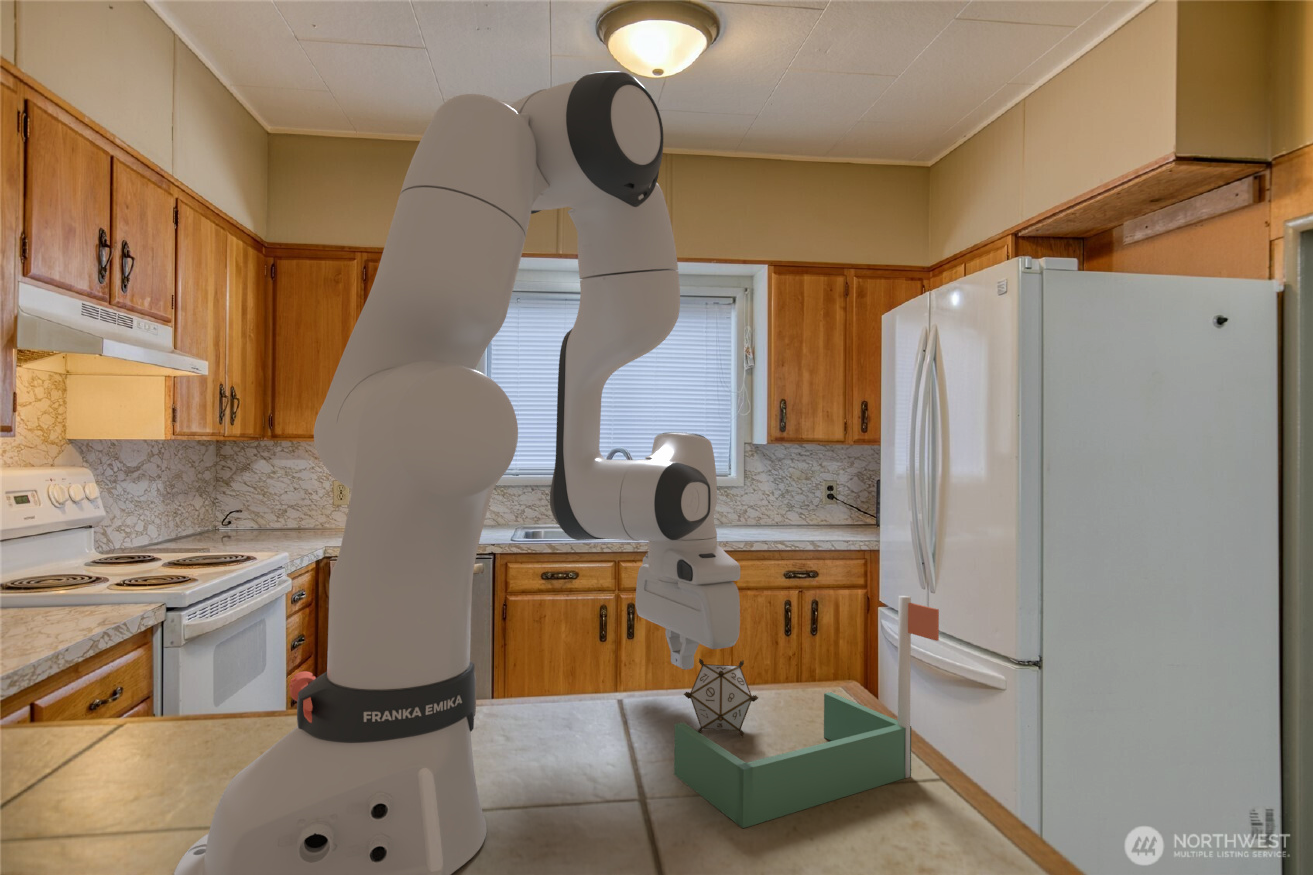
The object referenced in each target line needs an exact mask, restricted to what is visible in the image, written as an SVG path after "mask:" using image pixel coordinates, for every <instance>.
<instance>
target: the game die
mask: <svg viewBox="0 0 1313 875" xmlns="http://www.w3.org/2000/svg"><path fill="white" fill-rule="evenodd" d="M744 662H745V660H740V661H739V663H738V665H730V664H729V665H728V664H727V665H724V664H705V663H704V659H702V658H700V657H699V659H698V663H699V665H701V667H700V670H699V671H698V673H697V674H698V675H697V676H696V679H695V681H694V683H693V686H692V687H691V690H690V692H689V691H685V693H683V695H684V696H685V697H686V698H687V699H690V700H691V703H692V706H693V709H694V712H695V715H696V717H697V721H698V725H699V726H700V727H699V728H698V729H697V730H696V731H697V732H699V733H700V734H702V732H703V730H713V731H714V730H717V731H718V730H719V731H733V732H734V731H737V732H738V735H739V736H740V737H742V738H745V737H744V736H745V735H744V734H745V732H744V731H743V730H742V727H743V723H744V722H745V719H746V716H747V713H748V711H749V709H750V705H751V703H752V702H753V703H754V702H756V701H757V700H758V699H759V697H758V696H757V695H755V694H753V695H752V693H751V690H750V687H749V685H748V682H747V680H746V678H745V674H744V672H743V670H742V667H743V666H744V665H745V663H744Z"/></svg>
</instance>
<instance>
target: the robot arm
mask: <svg viewBox="0 0 1313 875" xmlns="http://www.w3.org/2000/svg"><path fill="white" fill-rule="evenodd" d="M662 121H663V120H662V118H661V114H660V111H659V108H658V106H657V104H656V102H655V100H654V98H653V97H652V95H651V93H650V92H649V91H648V90H647V89H646V87H645V86H644V85H643V84H642V83H641V82H640V81H639V80H638V79H637V78H636V77H634V75H631V74H629V73H628V72H623V71H615V70H614V71H613V70H611V71H599V72H598V71H597V72H593V73H588V74H584V76H582V77H581V78H579V79H577V80H573V81H569V82H564V83H561V84H558V85H554V86H552V87H549V88H543V89H539V90H537V91H535V92H533V93H530V94H528V95H526V96H524V97H522V98H520V99H518V100H517V101H515V102H513V103H511V104H510V105H508V104H507V103H505V102H504V101H502V100H500V99H497V98H494V97H492V96H489V95H484V94H476V93H466V94H465V93H464V94H459V95H456V96H453V97H451V98H449V99H447V100H446V101H444V103H442V104H441V105H440V106H439V107H438V109H437V110H436V111H435V113H434V115H433V116H432V118H431V120H430V122H429V124H428V125H427V127H426V129H425V130H424V133H423V135H422V137H421V139H420V141H419V143H418V145H417V147H416V149H415V151H414V155H413V156H412V158H411V161H410V164H409V167H408V169H407V171H406V175H405V177H404V179H403V180H404V181H403V183H402V186H401V189H400V193H399V196H398V199H397V203H396V206H395V210H394V214H393V217H392V219H391V223H390V227H389V230H388V234H387V237H386V240H385V244H384V248H383V250H382V251H383V252H382V254H381V258H380V261H379V265H378V268H377V272H376V275H375V278H374V281H373V284H372V286H371V289H370V291H369V294H368V296H367V299H366V301H365V303H364V305H363V308H362V310H361V312H360V314H359V316H358V319H357V320H356V323H355V325H354V327H353V330H352V332H351V334H350V336H349V339H348V341H347V343H346V346H345V348H344V350H343V353H342V355H341V357H340V360H339V363H338V365H337V368H336V371H335V373H334V375H333V378H332V380H331V383H330V386H329V388H328V390H327V393H326V397H325V398H324V401H323V403H322V405H321V408H320V410H319V411H318V413H317V416H316V420H315V423H314V428H313V441H314V442H313V443H314V447H315V450H316V453H317V455H318V457H319V459H320V461H321V463H322V465H323V466H324V467H325V468H326V470H327V471H328V472H329V473H330V475H331V476H332V477H333V478H334V479H335V480H336V481H338V482H339V483H340V484H341V485H343V486H344V487H347V488H348V489H350V496H349V504H348V510H347V515H346V519H345V520H346V521H345V525H344V531H343V536H342V539H341V543H340V544H341V545H340V548H339V551H338V555H337V558H336V562H335V563H334V566H333V568H332V570H331V572H330V576H329V588H328V589H329V590H328V591H329V592H328V622H327V623H328V625H327V626H328V628H327V634H328V635H327V661H326V662H327V664H326V665H327V666H326V667H327V668H326V669H327V670H326V671H325V672H323V673H322V674H321V675H318V676H317V677H316V676H315V675H313V672H310V671H306V670H305V671H300V672H298V673H295V674H294V675H293V678H291V679H290V681H289V682H290V683H289V684H288V686H289V694H290V697H291V698H292V699H293V700H294V701H296V702H297V703H296V722H297V726H296V727H294V728H293V729H292V730H291V731H289V732H288V733H287V734H285V735H284V736H282V738H281V739H279V740H278V741H276V743H275V744H273V745H272V746H271V747H270V748H268V749H267V750H265V751H264V752H263V753H262V754H261V755H259V756H258V757H257V758H256V759H254V760H253V761H252V762H250V763H249V764H248V765H247V766H245V767H244V768H243V769H242V770H240V771H239V772H238V773H237V774H236V775H235V776H234V777H233V778H232V779H231V780H230V782H229V783H228V784H227V786H226V788H225V789H224V791H223V794H222V795H221V797H220V798H219V802H218V804H217V805H216V808H215V811H214V813H213V817H212V820H211V823H210V827H209V831H208V833H206V834H205V835H203V836H202V837H201V838H200V839H198V840H197V841H196V842H195V843H193V844H192V845H191V846H190V847H189V848H188V850H186V851H185V853H184V854H183V855H182V857H181V858H180V860H179V861H178V864H177V865H176V867H175V869H174V872H173V873H172V875H452V874H453V873H454V872H457V870H459V869H460V868H461V867H462V866H464V865H465V864H467V862H469V860H471V859H472V858H473V857H474V856H475V855H476V854H477V853H478V851H479V850H480V849H481V847H482V846H483V844H484V841H486V840H485V839H486V837H487V830H488V829H487V823H486V819H485V817H484V813H483V810H482V805H481V801H480V796H479V791H478V786H477V778H476V772H475V766H474V756H473V747H472V746H473V745H472V733H471V732H473V730H474V725H475V724H474V723H475V717H476V711H477V677H476V670H475V665H476V664H475V663H473V661H471V636H472V635H471V633H472V632H471V631H472V630H471V629H472V603H473V600H472V599H473V580H474V571H475V564H476V559H477V553H478V548H479V544H480V540H481V537H482V536H481V535H482V532H483V528H484V525H485V524H484V523H485V520H486V517H487V513H488V508H489V507H490V506H489V505H490V503H491V498H492V494H493V492H494V490H495V487H496V486H497V484H498V482H499V481H500V480H501V478H502V477H503V476H504V474H505V473H506V472H507V471H508V469H509V467H510V465H511V464H512V462H513V460H514V457H515V454H516V450H517V446H518V440H519V438H518V437H519V428H518V427H519V426H518V418H517V415H516V411H515V409H514V405H513V404H512V402H511V399H510V398H509V397H508V395H507V394H506V393H505V391H504V390H503V389H502V387H501V386H500V385H499V384H498V383H497V382H496V381H494V380H493V379H492V378H490V377H489V376H488V375H486V374H485V373H482V372H481V371H478V370H476V368H477V366H478V364H479V362H480V360H481V358H482V356H483V354H484V353H485V351H486V349H487V348H488V347H489V345H490V343H491V342H492V341H493V339H494V338H495V336H497V334H498V333H499V332H500V330H501V328H502V326H503V325H504V323H505V321H506V319H507V315H508V310H509V307H510V303H511V299H512V294H513V290H514V287H515V283H516V279H517V276H518V275H517V274H518V270H519V267H520V262H521V259H522V255H523V252H524V246H525V243H526V239H527V234H528V230H529V229H528V228H529V226H530V221H531V215H532V214H536V213H540V212H542V211H548V210H558V209H564V208H571V209H569V210H567V214H568V215H569V217H570V219H571V221H572V222H573V224H574V227H575V229H576V232H577V262H578V263H577V264H578V275H579V279H580V280H579V285H580V286H579V287H580V297H579V305H578V311H577V316H576V319H575V321H574V324H573V327H572V328H571V329H569V331H567V332H566V334H565V335H564V337H563V339H562V342H561V345H560V351H559V359H558V360H559V361H558V373H557V374H558V376H557V400H556V401H557V404H556V435H555V437H556V438H555V441H556V442H555V462H554V470H553V473H552V474H553V475H552V479H551V484H550V492H549V507H550V511H551V514H552V516H553V518H554V520H555V523H557V525H558V526H559V527H560V529H562V531H563V532H564V533H565V535H567V536H568V537H570V538H571V539H572V540H577V541H591V540H605V539H607V540H620V541H621V540H622V541H637V542H639V541H645V542H648V551H647V552H646V554H645V556H644V557H643V558H642V564H641V566H639V569H638V571H637V577H636V587H635V610H636V613H637V616H639V617H640V618H643V619H645V620H646V621H649V622H651V623H653V624H656V625H658V626H660V627H662V628H664V629H665V638H666V641H667V644H668V647H669V650H670V663H671V664H672V665H675V666H676V667H679V668H680V669H682V670H684V671H685V670H691V669H693V668H694V665H695V654H696V652H697V650H698V647H699V645H702V646H704V647H707V648H708V649H711V650H718V649H726V648H731V647H733V646H735V645H736V643H737V641H738V639H739V636H740V629H741V628H740V627H741V624H740V623H741V605H740V602H741V600H740V591H739V588H738V586H737V585H736V583H735V581H739V580H740V578H741V565H740V563H739V562H737V561H736V560H735V559H734V558H733V557H731V556H730V555H729V554H728V553H727V552H726V551H724V550H723V548H722V546H720V545H718V542H717V541H718V538H717V537H718V536H717V535H718V533H717V528H716V525H715V512H716V507H717V504H718V503H717V502H718V489H717V488H718V486H717V485H718V482H717V481H718V480H717V469H716V460H715V453H714V449H713V444H712V442H711V440H710V439H708V438H707V437H705V436H703V435H700V434H698V433H690V432H685V431H684V432H683V431H667V432H662V433H659V434H657V435H656V436H655V437H654V440H653V444H652V450H651V453H650V454H648V455H647V456H645V457H644V459H643V458H642V459H606V458H605V457H604V456H603V455H602V453H601V451H600V439H601V437H600V436H601V420H602V419H601V416H602V414H601V413H602V395H603V391H604V387H605V385H606V383H607V381H608V380H609V378H610V377H611V376H612V375H613V374H614V373H615V372H616V371H618V370H619V369H620V368H623V367H624V366H626V365H628V364H629V363H631V362H633V361H635V360H637V359H639V358H642V357H644V356H645V355H647V354H648V353H650V352H652V351H653V350H654V349H656V348H657V347H659V345H661V344H662V343H663V342H664V341H666V338H668V336H669V335H670V334H671V332H672V331H673V330H674V328H675V326H676V323H677V322H678V320H679V316H680V310H681V308H680V307H681V288H680V277H679V275H680V274H679V271H678V270H679V264H678V257H677V249H676V243H675V242H676V241H675V236H674V232H673V226H672V222H671V221H672V220H671V218H670V213H669V210H668V209H669V208H668V205H667V203H666V200H665V196H664V192H663V190H662V188H661V187H660V185H659V184H658V183H657V182H658V179H659V174H660V173H659V172H660V167H661V166H662V160H663V152H664V129H663V128H664V126H663V122H662Z"/></svg>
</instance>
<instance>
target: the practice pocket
mask: <svg viewBox="0 0 1313 875" xmlns="http://www.w3.org/2000/svg"><path fill="white" fill-rule="evenodd" d="M897 599H898V602H897V603H898V604H897V605H898V608H897V609H898V610H897V611H898V612H897V613H898V615H897V616H898V617H897V618H898V619H897V621H898V622H897V623H898V626H897V627H898V629H897V630H898V631H897V632H898V633H897V636H898V637H897V638H898V639H897V719H896V718H892V717H890V716H888V715H885V714H883V713H881V712H878V711H876V710H874V709H871V708H869V707H867V706H864V705H862V704H860V703H857V702H856V701H852V700H850V699H848V698H846V697H843V696H841V695H839V694H836V693H835V692H832V691H830V692H829V691H828V692H824V693H823V738H824V739H826V740H828V741H827V742H826V741H825V742H823V743H819V744H815V745H811V746H808V747H803V748H800V749H799V748H798V749H795V750H792V751H788V752H784V753H780V754H779V753H778V754H776V755H775V754H774V755H772V756H768V757H764V758H759V759H756V760H751V761H748V762H745V761H744V760H742V759H740V757H737V756H736V755H735V754H733V753H731V752H730V751H728V750H727V749H725V748H724V747H722V746H721V745H719V744H718V743H715V742H714V741H713V740H711V739H710V738H708V737H707V736H705V734H704V735H703V734H702V733H701V734H700V733H699V732H697V731H698V730H695V729H694V728H693V727H691V726H689V725H688V724H687V723H685V722H679V723H675V724H674V754H673V755H674V756H673V757H674V758H673V759H674V761H673V762H674V763H673V764H674V766H673V768H674V770H673V775H674V776H675V777H677V778H678V779H679V780H681V781H682V782H683V783H685V785H687V786H689V788H691V789H692V790H693V791H695V792H696V793H697V794H698V795H699V796H701V797H702V798H704V799H705V800H706V801H708V802H709V803H710V804H711V805H713V807H715V808H716V809H717V810H719V811H720V812H721V813H723V814H724V815H725V816H726V817H728V818H729V819H730V820H732V821H733V822H734V823H736V825H738V826H740V828H742V829H745V828H749V827H751V826H755V825H758V824H761V823H764V822H768V821H771V820H775V819H778V818H780V817H784V816H787V815H790V814H794V813H797V812H800V811H803V810H806V809H809V808H810V809H811V808H814V807H816V806H820V805H822V804H826V803H829V802H833V801H835V800H839V799H843V798H845V797H849V796H851V795H855V794H859V793H862V792H866V791H868V790H871V789H875V788H878V787H880V786H881V787H882V786H884V785H887V784H891V783H894V782H897V781H900V780H903V779H909V778H910V777H912V725H911V677H912V676H911V670H912V669H911V668H912V666H911V665H912V664H911V662H912V660H911V657H912V656H911V654H912V653H911V651H912V649H911V645H912V635H915V636H918V637H921V638H925V639H928V640H932V641H936V642H939V637H940V636H939V633H940V629H939V628H940V626H939V624H940V617H939V615H940V614H939V612H940V611H939V608H934V607H929V606H926V605H922V604H917V603H913V602H912V597H911V596H909V595H898V598H897ZM911 634H912V635H911Z"/></svg>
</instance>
